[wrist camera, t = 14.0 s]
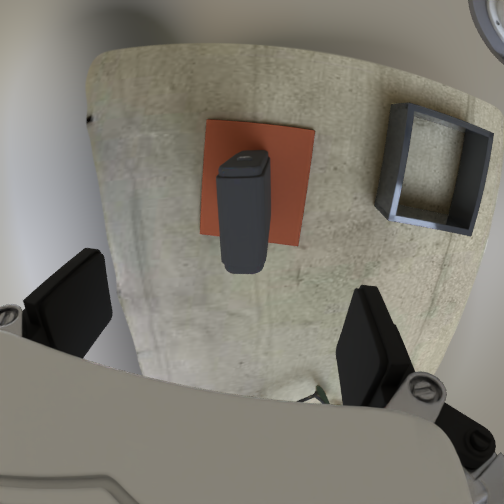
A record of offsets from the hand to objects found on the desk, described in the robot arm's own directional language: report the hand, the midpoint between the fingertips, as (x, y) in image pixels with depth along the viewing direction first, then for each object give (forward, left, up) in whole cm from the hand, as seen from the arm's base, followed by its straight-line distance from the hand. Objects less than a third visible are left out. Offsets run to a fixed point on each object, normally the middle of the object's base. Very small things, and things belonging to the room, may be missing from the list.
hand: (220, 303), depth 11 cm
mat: (+2, -1, -30) cm, 30 cm away
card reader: (+2, -1, -29) cm, 29 cm away
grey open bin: (-4, +21, -30) cm, 36 cm away
